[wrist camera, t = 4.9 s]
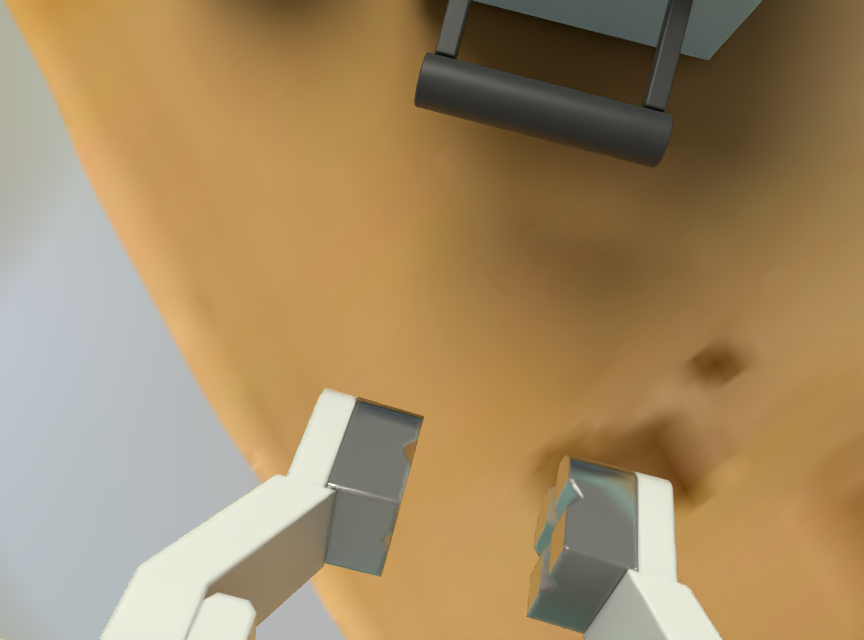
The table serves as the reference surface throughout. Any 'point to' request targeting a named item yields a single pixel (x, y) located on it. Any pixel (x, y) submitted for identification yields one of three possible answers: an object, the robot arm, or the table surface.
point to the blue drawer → (571, 109)
